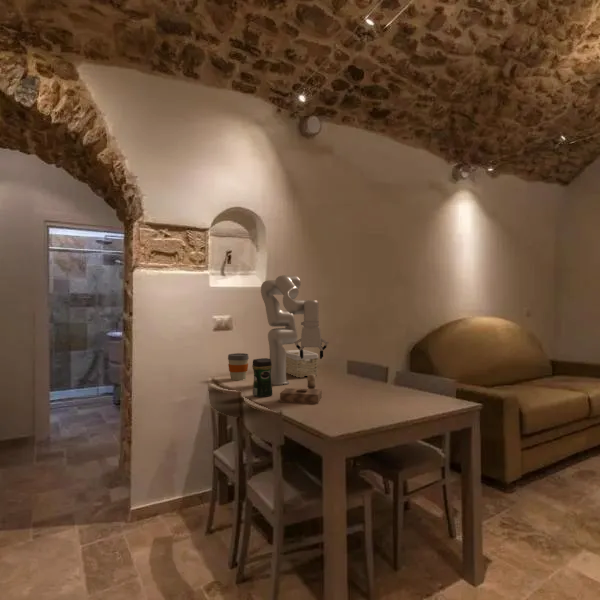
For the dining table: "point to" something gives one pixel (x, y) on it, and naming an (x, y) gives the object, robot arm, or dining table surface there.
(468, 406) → the dining table surface
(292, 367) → the storage basket
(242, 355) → the reusable coffee cup
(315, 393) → the board
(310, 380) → the peg
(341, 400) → the dining table surface
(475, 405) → the dining table surface
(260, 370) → the coffee jar
